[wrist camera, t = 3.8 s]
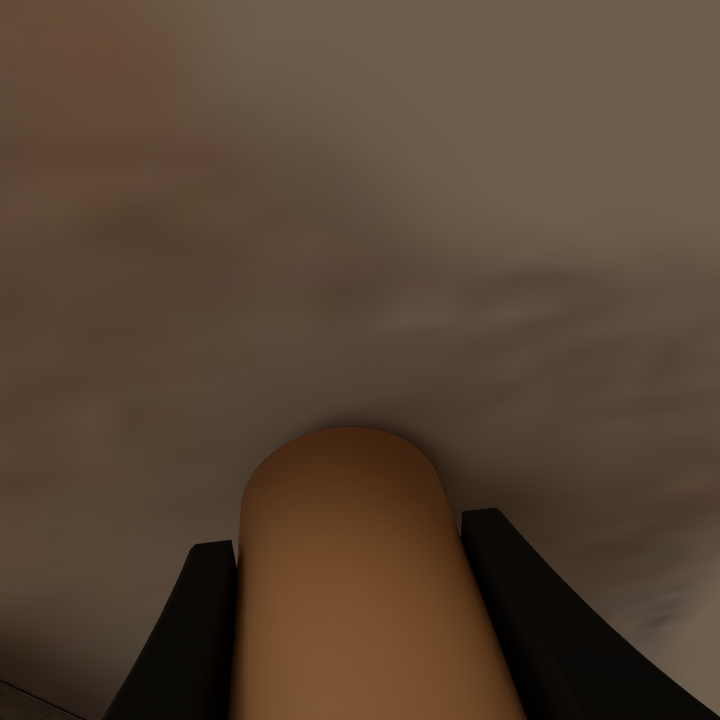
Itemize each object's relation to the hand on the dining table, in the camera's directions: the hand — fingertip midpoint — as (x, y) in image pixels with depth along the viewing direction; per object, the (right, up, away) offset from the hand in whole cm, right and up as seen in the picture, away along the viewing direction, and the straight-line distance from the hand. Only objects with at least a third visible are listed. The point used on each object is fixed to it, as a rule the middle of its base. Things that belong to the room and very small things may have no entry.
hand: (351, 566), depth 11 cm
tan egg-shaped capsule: (0, +1, +1) cm, 2 cm away
